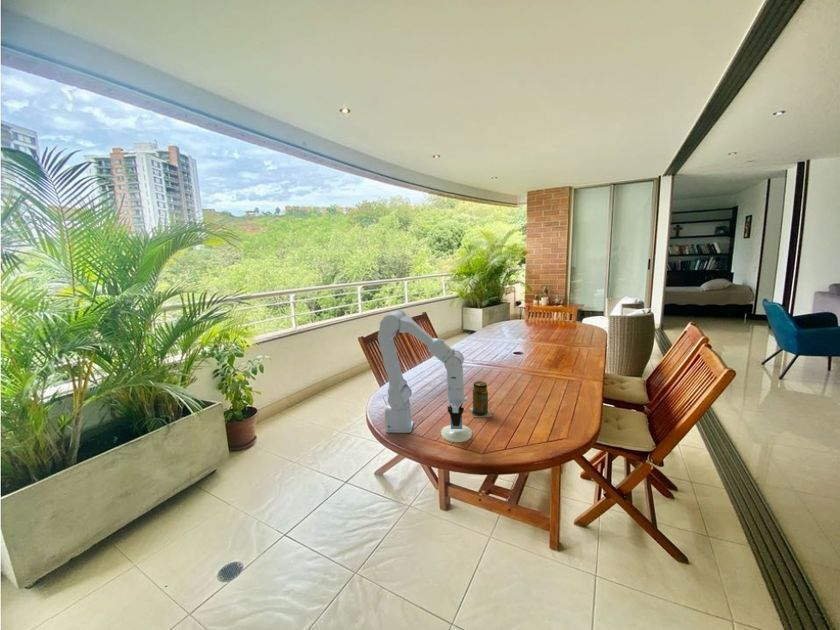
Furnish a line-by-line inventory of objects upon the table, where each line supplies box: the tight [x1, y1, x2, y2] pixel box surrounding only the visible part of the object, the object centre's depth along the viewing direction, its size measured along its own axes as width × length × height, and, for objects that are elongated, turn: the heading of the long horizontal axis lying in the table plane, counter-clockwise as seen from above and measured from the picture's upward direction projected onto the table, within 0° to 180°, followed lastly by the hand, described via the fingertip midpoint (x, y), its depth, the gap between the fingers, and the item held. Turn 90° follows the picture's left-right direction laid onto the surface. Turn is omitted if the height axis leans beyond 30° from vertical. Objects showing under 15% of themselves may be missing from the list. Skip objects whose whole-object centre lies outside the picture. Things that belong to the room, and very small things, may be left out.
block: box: [449, 414, 463, 429], centre depth 120 cm, size 4×4×6 cm
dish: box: [440, 424, 473, 443], centre depth 122 cm, size 11×11×1 cm
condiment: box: [469, 380, 493, 418], centre depth 135 cm, size 7×8×12 cm
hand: (456, 422), depth 121 cm, fingers closed on block, 4 cm apart
